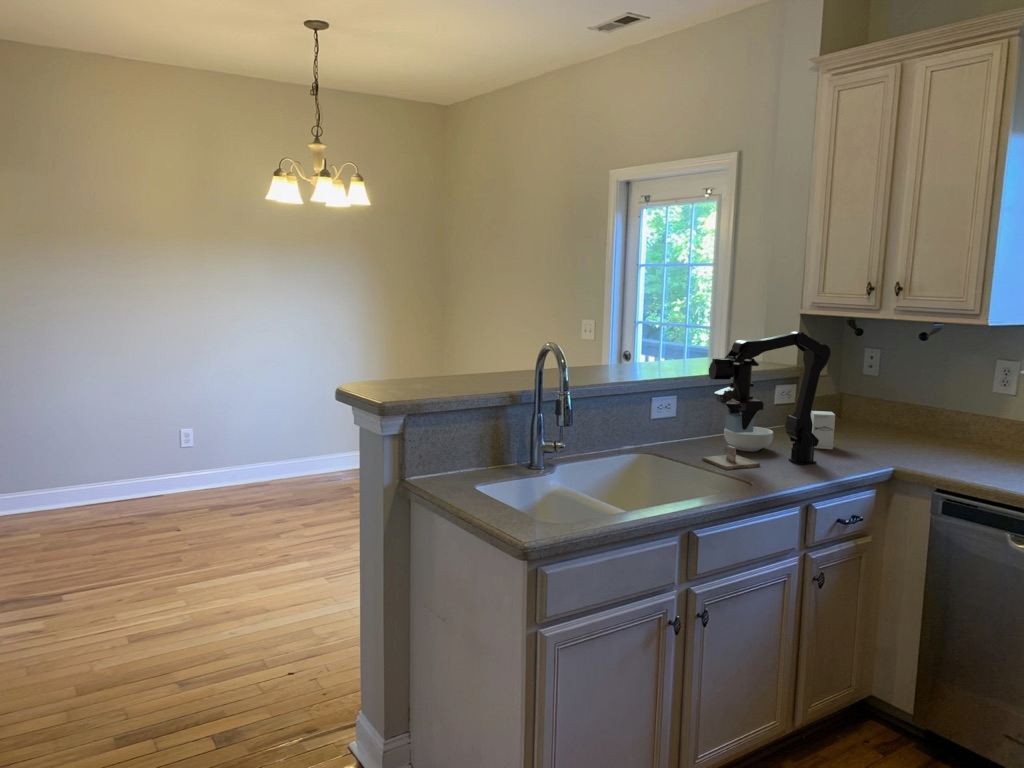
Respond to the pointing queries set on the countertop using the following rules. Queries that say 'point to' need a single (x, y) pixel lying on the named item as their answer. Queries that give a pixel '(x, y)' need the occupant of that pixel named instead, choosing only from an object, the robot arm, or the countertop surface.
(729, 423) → the blue-grey square socket block
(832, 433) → the supplement box
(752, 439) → the cereal bowl
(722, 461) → the wooden peg base
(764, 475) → the countertop surface
